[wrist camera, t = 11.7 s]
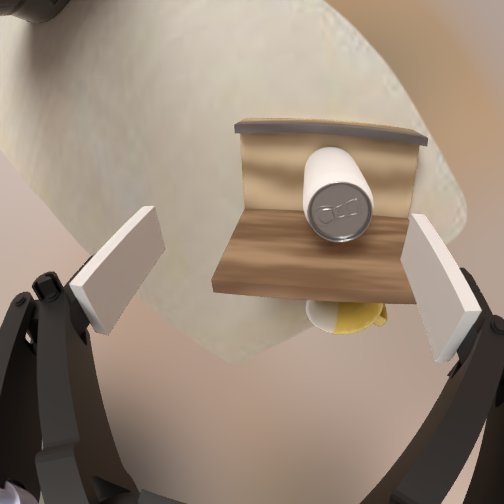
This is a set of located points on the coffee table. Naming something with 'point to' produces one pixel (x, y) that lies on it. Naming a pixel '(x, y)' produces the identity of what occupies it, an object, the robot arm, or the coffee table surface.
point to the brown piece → (298, 228)
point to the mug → (345, 315)
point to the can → (336, 196)
